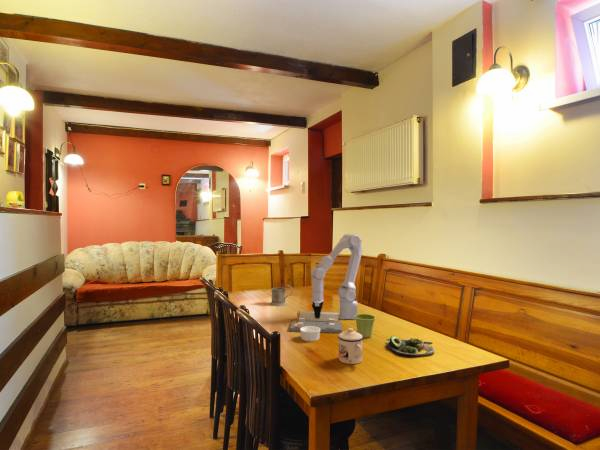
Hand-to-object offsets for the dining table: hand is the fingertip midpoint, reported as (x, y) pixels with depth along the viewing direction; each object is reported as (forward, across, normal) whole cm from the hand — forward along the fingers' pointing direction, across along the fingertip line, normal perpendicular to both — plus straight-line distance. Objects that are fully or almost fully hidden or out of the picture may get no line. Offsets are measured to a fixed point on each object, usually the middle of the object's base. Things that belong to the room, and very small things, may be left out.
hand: (317, 317), depth 189 cm
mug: (+2, -32, -23) cm, 39 cm away
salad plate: (+2, +38, +38) cm, 54 cm away
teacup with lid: (+2, +53, +15) cm, 55 cm away
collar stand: (+2, +14, 0) cm, 14 cm away
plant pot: (+2, +23, +22) cm, 32 cm away
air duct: (+2, 0, 0) cm, 2 cm away
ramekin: (+2, +29, -2) cm, 29 cm away
